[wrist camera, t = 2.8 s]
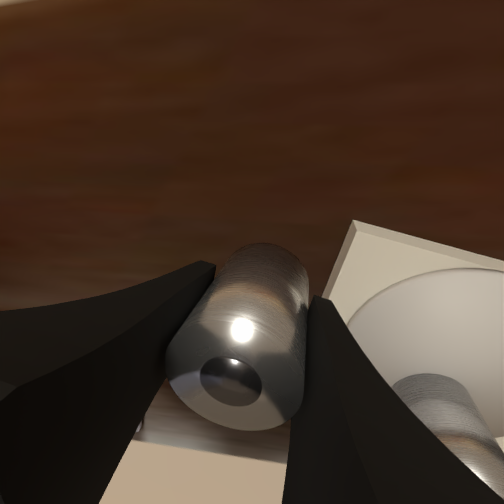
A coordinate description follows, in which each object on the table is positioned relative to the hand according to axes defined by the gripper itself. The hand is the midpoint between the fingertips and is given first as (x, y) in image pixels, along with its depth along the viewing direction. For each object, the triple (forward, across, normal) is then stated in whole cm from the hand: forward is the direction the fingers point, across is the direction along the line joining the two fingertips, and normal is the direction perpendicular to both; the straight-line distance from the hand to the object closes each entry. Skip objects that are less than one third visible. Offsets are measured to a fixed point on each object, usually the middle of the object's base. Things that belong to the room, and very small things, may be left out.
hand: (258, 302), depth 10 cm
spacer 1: (+2, 0, 0) cm, 2 cm away
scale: (+5, -9, +3) cm, 11 cm away
